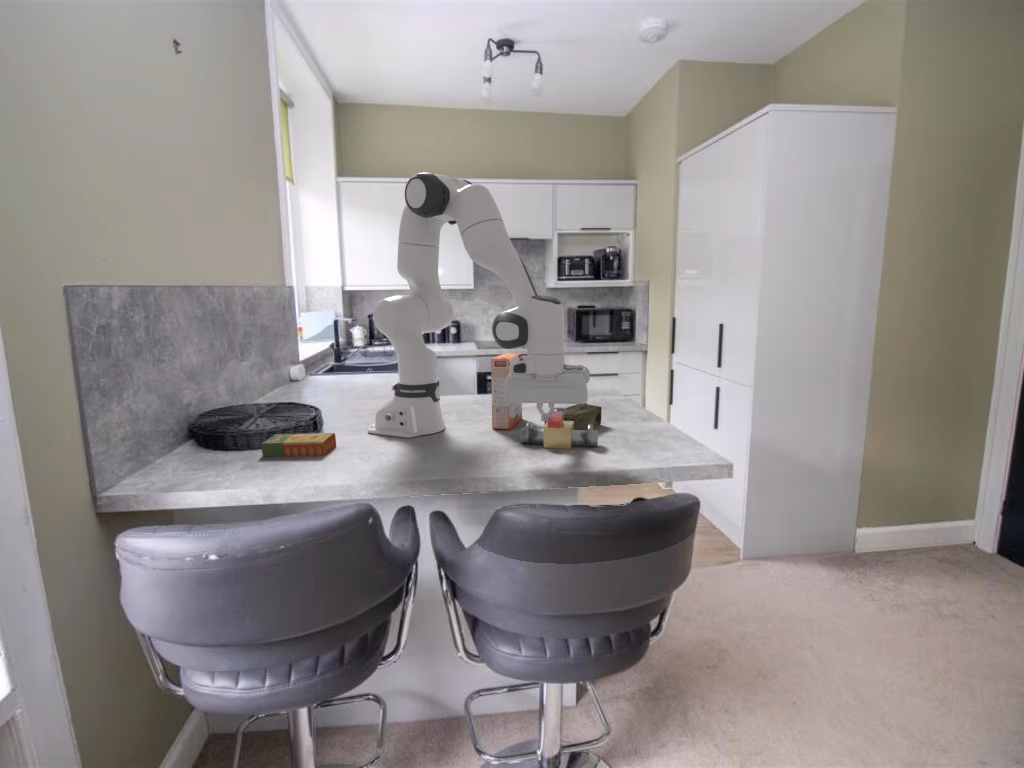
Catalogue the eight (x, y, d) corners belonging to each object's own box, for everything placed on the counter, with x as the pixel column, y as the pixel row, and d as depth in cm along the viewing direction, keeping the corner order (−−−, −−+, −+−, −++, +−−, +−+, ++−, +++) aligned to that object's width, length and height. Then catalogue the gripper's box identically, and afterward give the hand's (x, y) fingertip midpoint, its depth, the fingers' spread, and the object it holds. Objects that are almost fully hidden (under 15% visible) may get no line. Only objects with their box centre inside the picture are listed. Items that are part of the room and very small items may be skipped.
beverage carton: (602, 425, 153) (603, 404, 151) (566, 441, 138) (566, 417, 137) (580, 421, 158) (580, 400, 156) (542, 436, 143) (542, 413, 142)
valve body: (518, 446, 134) (518, 417, 132) (524, 438, 140) (523, 411, 139) (596, 450, 129) (597, 420, 128) (598, 442, 136) (598, 413, 134)
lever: (552, 412, 136) (552, 407, 135) (567, 413, 135) (567, 407, 135) (545, 427, 122) (545, 421, 121) (562, 428, 121) (562, 421, 121)
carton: (324, 457, 129) (323, 441, 128) (261, 458, 129) (259, 442, 129) (336, 447, 137) (335, 431, 136) (277, 448, 138) (275, 432, 137)
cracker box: (511, 430, 149) (509, 358, 145) (491, 429, 150) (489, 358, 146) (523, 418, 162) (522, 352, 158) (505, 417, 163) (504, 352, 160)
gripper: (589, 363, 125) (588, 418, 127) (506, 362, 128) (507, 416, 130) (589, 367, 119) (589, 425, 121) (502, 366, 121) (503, 423, 124)
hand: (545, 420), depth 126 cm, fingers closed
